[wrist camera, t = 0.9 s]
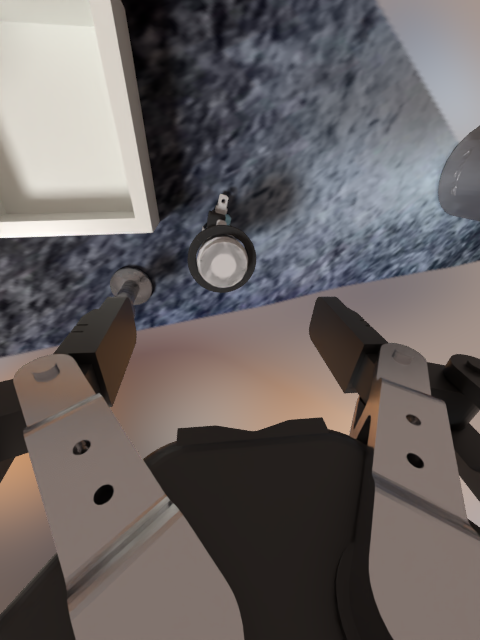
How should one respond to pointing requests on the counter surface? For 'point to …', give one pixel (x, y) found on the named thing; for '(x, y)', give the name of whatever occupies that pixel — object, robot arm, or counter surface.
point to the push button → (221, 253)
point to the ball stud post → (131, 285)
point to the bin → (71, 122)
